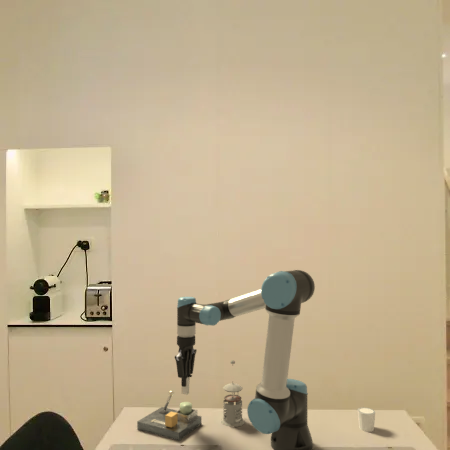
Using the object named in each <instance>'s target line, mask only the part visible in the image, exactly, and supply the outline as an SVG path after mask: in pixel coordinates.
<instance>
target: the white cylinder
mask: <svg viewBox="0 0 450 450" xmlns="http://www.w3.org/2000/svg"><path fill="white" fill-rule="evenodd" d="M356 411H357V419H358V428H359V430H360V431H364V432H365V433H367V432H368V433H372V432H374V431H375V420H376V410H375V409H373V408H369V407H364V406H363V407H358V408H357V409H356Z"/></svg>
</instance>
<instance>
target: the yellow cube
mask: <svg viewBox="0 0 450 450" xmlns="http://www.w3.org/2000/svg"><path fill="white" fill-rule="evenodd" d="M176 424H178V413H175V412H170V413H168V414H167V415H165V426H167V427H171V428H172V427H173V426H175V425H176Z"/></svg>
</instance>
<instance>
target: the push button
mask: <svg viewBox="0 0 450 450" xmlns="http://www.w3.org/2000/svg"><path fill="white" fill-rule="evenodd" d="M179 409H180V413H181V414H190V413H192V409H193V403H192V402H190V401H183V402H180V403H179Z"/></svg>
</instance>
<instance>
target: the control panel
mask: <svg viewBox="0 0 450 450" xmlns="http://www.w3.org/2000/svg"><path fill="white" fill-rule="evenodd" d="M163 409H164V406H161V407H159V408H158V409H156V410H155V411H153V412H151V413H149V414H148V415H145V416H144V417H142V418H141V419H139V420H137V423H136V424H137V425H136V428H137V430H140V431H142V432H146V433H150V434H154V435H156V436H157V435H158V436H160V437H163V438H164V437H165V438H167V439H172V440H174V441H178V442H180V441H181V440H182V439H184V438H185V437H186V436H187V435H189V434H191V432H193V431H194V430H196V429H197V428H199V426H201V425H202V416H201V415H198V409H195V408H192V413H190V414H181V413H180V408H179V409H172V408H170V407H169V408H168V407H167V409H166V411H164V410H163ZM170 412H175V413H178V424H176V425H175V426H173V427H172V428H171V427H167V426H165V415H167V414H168V413H170Z"/></svg>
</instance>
